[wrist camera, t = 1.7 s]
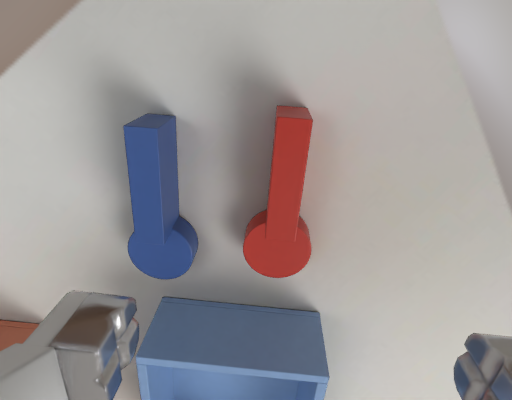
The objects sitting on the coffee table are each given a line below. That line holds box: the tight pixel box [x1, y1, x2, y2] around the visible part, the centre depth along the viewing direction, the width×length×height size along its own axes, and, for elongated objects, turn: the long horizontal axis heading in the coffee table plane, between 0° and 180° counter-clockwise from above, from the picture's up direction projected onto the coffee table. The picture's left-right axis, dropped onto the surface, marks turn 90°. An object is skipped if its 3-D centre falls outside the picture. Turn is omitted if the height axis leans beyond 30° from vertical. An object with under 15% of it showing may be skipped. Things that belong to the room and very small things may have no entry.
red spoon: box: [243, 106, 313, 278], centre depth 18 cm, size 10×4×3 cm, turn 176°
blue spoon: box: [123, 114, 198, 279], centre depth 18 cm, size 10×4×3 cm, turn 176°
